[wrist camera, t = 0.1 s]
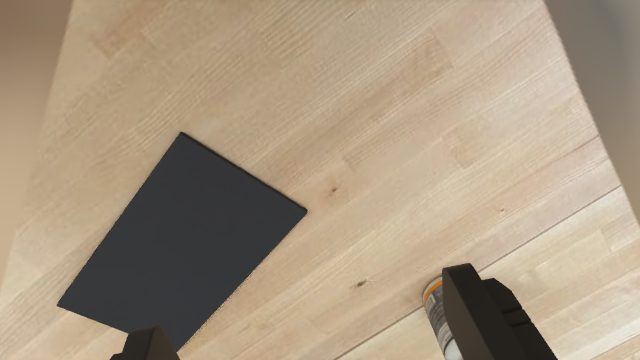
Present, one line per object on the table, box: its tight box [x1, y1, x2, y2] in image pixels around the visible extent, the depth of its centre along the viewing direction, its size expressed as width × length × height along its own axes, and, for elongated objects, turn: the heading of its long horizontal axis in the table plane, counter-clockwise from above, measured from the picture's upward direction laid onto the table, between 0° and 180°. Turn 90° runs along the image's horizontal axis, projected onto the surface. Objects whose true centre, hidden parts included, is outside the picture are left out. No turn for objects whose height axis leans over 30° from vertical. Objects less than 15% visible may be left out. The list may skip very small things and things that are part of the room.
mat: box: [57, 132, 308, 352], centre depth 37 cm, size 12×21×1 cm, turn 140°
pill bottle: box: [423, 276, 463, 360], centre depth 38 cm, size 6×6×10 cm
